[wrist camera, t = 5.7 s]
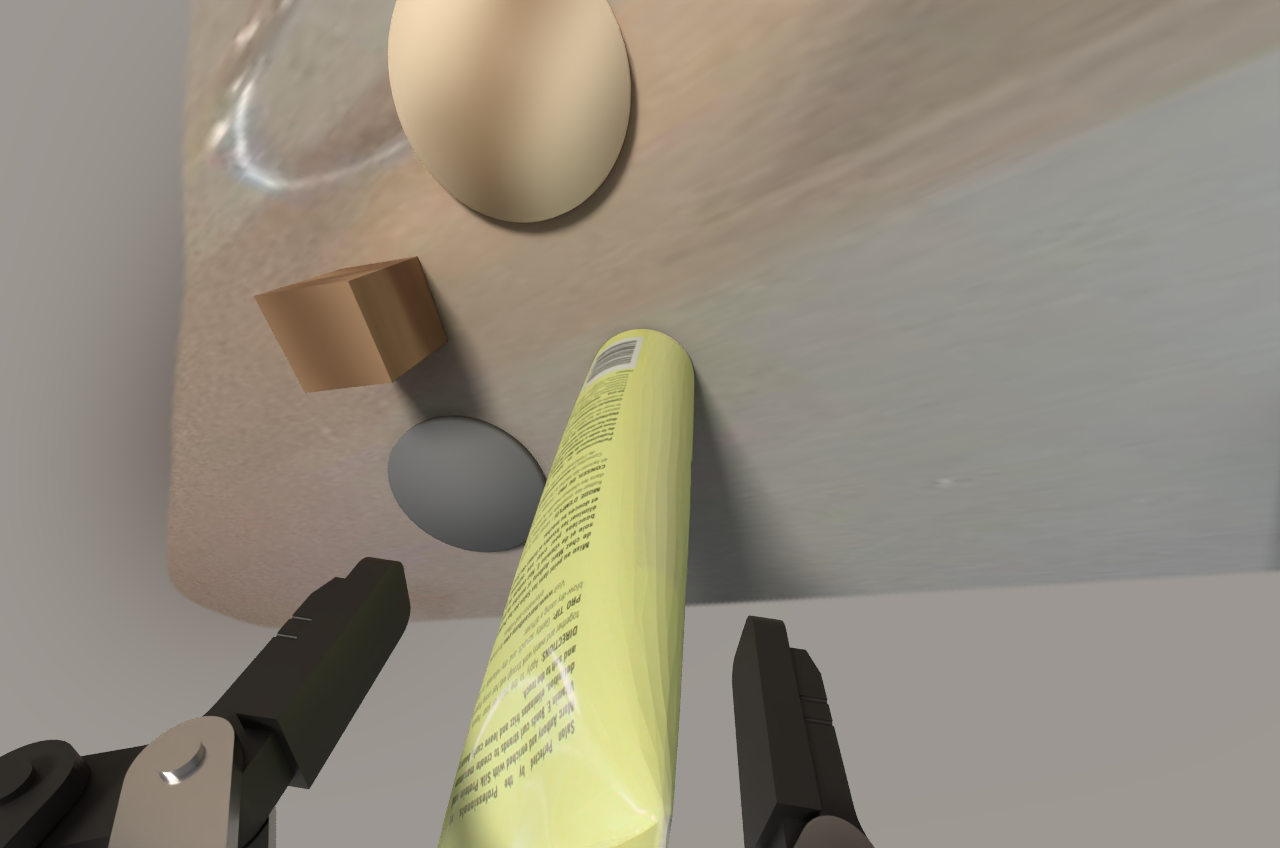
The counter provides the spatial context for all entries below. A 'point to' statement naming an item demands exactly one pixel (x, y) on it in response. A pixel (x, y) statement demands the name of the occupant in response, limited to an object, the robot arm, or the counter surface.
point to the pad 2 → (466, 483)
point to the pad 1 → (512, 99)
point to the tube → (592, 626)
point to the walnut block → (355, 324)
